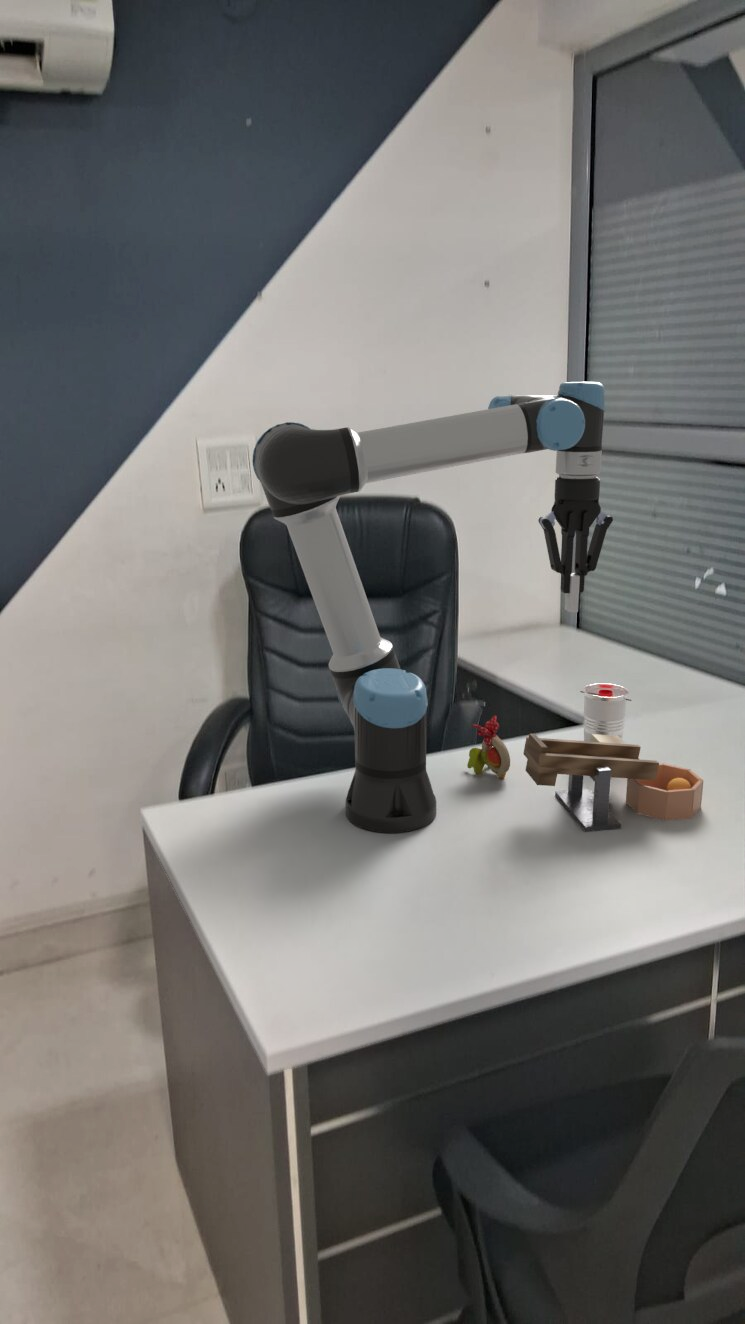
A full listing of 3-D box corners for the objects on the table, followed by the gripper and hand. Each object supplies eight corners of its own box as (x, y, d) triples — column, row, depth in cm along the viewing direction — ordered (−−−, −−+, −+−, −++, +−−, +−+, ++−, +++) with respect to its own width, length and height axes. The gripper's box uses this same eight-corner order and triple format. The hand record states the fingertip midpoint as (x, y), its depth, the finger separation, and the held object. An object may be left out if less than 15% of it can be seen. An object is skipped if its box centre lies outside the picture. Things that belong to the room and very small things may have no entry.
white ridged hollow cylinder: (634, 747, 192) (638, 688, 188) (620, 761, 185) (624, 701, 181) (585, 737, 197) (588, 680, 193) (569, 751, 190) (572, 692, 186)
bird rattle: (513, 783, 181) (483, 751, 186) (532, 738, 174) (500, 707, 180) (487, 792, 177) (458, 759, 183) (506, 747, 171) (474, 714, 176)
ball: (681, 807, 168) (662, 800, 167) (681, 786, 170) (662, 779, 169) (697, 800, 164) (677, 793, 163) (696, 778, 166) (677, 771, 165)
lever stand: (585, 831, 158) (588, 773, 155) (555, 795, 171) (557, 741, 168) (621, 828, 158) (625, 770, 156) (588, 792, 172) (591, 738, 169)
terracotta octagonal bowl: (618, 808, 165) (620, 781, 164) (642, 785, 174) (644, 759, 173) (685, 825, 159) (687, 797, 158) (707, 800, 168) (709, 773, 167)
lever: (537, 788, 157) (544, 750, 155) (506, 750, 172) (512, 715, 170) (653, 795, 161) (661, 758, 159) (612, 757, 176) (620, 723, 174)
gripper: (548, 479, 164) (543, 617, 171) (623, 477, 166) (614, 613, 173) (533, 474, 171) (529, 607, 178) (605, 472, 173) (597, 603, 180)
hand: (571, 610), depth 175 cm, fingers closed
